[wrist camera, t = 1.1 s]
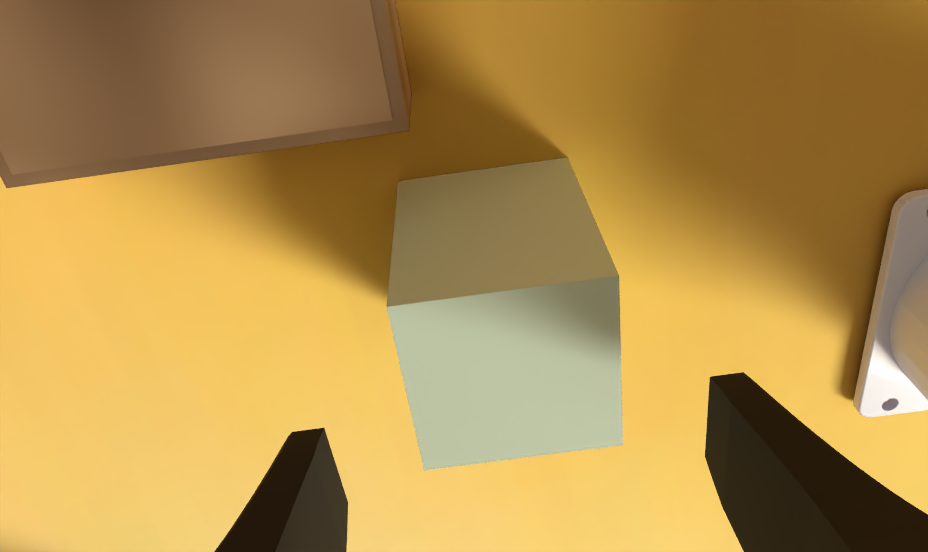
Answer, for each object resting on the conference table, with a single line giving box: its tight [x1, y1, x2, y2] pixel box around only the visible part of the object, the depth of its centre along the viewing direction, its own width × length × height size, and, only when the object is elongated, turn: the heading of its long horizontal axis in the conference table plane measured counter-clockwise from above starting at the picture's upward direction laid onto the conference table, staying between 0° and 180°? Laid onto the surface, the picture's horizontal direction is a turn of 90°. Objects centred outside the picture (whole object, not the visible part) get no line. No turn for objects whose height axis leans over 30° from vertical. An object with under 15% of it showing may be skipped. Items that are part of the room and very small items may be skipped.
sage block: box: [387, 157, 623, 470], centre depth 18 cm, size 4×4×6 cm
